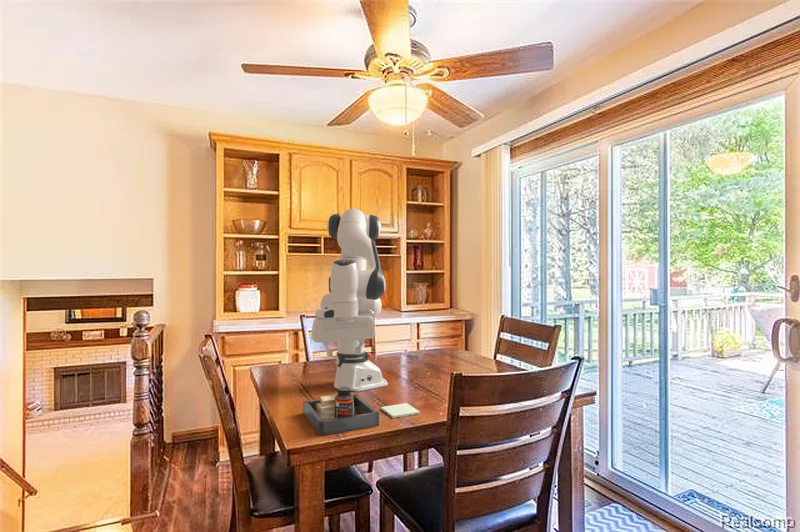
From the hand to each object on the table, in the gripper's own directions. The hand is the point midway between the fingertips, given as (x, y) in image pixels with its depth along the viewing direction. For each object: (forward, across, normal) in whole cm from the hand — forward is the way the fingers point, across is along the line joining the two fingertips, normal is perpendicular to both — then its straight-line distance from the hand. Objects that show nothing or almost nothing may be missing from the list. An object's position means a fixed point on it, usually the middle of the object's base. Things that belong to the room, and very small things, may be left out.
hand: (344, 354), depth 135 cm
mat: (+22, -21, -3) cm, 31 cm away
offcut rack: (+22, 0, -5) cm, 23 cm away
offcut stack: (+22, 0, -10) cm, 24 cm away
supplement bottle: (+22, 0, 0) cm, 22 cm away
